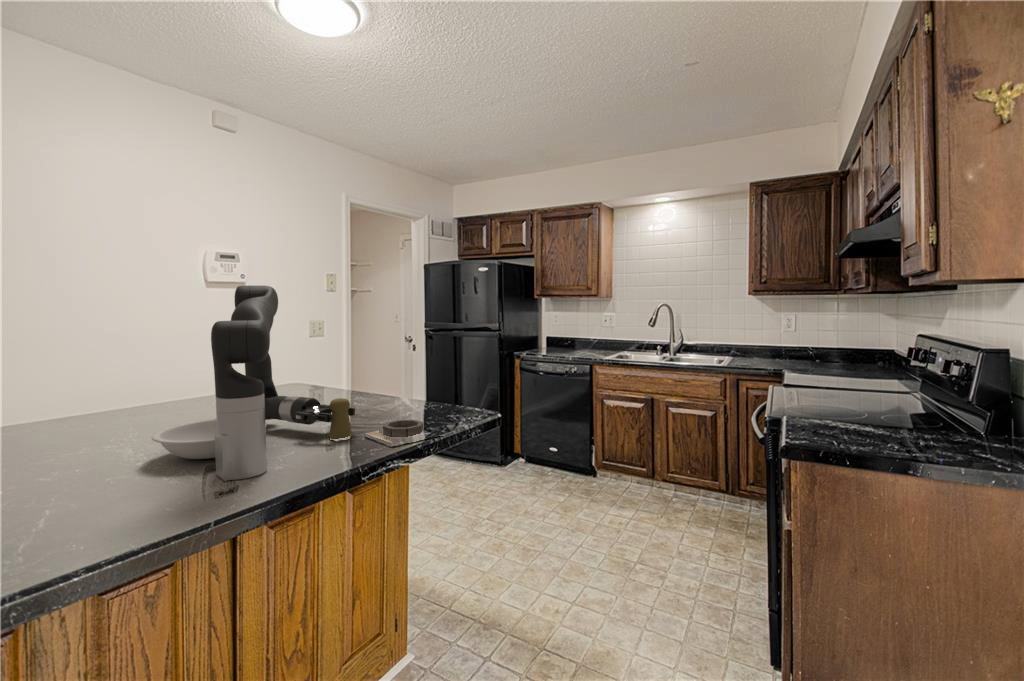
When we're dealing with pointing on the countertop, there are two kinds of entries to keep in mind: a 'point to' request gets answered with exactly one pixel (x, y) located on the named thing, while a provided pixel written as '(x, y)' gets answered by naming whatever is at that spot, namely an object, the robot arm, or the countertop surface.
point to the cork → (340, 419)
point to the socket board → (398, 429)
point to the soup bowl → (189, 439)
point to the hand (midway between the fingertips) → (342, 415)
